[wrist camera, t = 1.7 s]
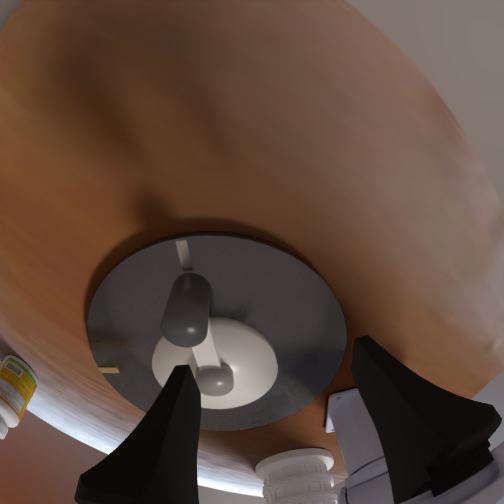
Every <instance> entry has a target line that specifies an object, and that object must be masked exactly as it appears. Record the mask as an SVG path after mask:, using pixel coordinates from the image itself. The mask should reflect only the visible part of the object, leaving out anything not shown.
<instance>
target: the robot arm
mask: <svg viewBox="0 0 504 504" xmlns="http://www.w3.org/2000/svg"><path fill="white" fill-rule="evenodd" d="M351 371H352V374H353V377H354V380H355V383H356V386H357V388H355V389H351V390H348V391H344V392H340V393H335V394H332V395H330V396H329V399H328V409H327V418H326V427H325V431H326V432H327V433H329V432H334V431H335V434H336V437H337V440H338V443H339V447H340V450H341V453H342V457H343V460H344V463H345V467H346V470H347V473H348V478H345V479H344V481H345V484H346V486H345V487H343V488H342V489H341V490H340V493H339V495H338V497H337V504H496V503H497V502H498V501H500V500H501V499H502V498H503V497H504V442H503V443H501V444H500V445H499V446H497V447H496V448H495V449H494V450H492V451H491V452H490V451H489V449H488V448H489V447H490V443H489V441H488V439H489V438H490V437H491V435H492V434H493V433H494V432H495V431H496V429H497V428H498V427H499V425H500V424H501V421H502V418H501V417H500V415H499V414H498V412H497V411H496V409H495V408H494V407H493V405H490V404H486V403H481V402H477V401H473V400H470V399H467V398H464V397H461V396H458V395H456V394H453V393H451V392H449V391H446V390H444V389H442V388H440V387H438V386H436V385H434V384H432V383H431V382H429V381H427V380H425V379H424V378H422V377H420V376H419V375H417V374H416V373H414V372H413V371H412V370H410V369H409V368H407V367H406V366H405V365H403V364H402V363H401V362H399V361H398V360H397V359H396V358H394V357H393V356H392V355H391V354H389V353H388V352H387V351H386V350H385V349H383V348H382V347H381V346H380V345H379V344H378V343H376V342H375V341H374V340H373V339H372V338H371V337H369V336H368V335H366V336H362V337H358V338H355V342H354V351H353V359H352V366H351ZM200 421H201V392H200V390H199V388H198V385H197V383H196V380H195V378H194V375H193V373H192V370H191V368H190V365H189V364H187V365H176V366H175V367H174V368H173V370H172V372H171V374H170V376H169V378H168V379H167V381H166V383H165V385H164V387H163V388H162V390H161V392H160V393H159V395H158V397H157V398H156V400H155V401H154V403H153V405H152V406H151V407H150V409H149V410H148V412H147V413H146V415H145V416H144V418H143V419H142V420H141V421H140V423H139V424H138V425H137V427H136V428H135V429H134V430H133V431H132V433H131V434H130V435H129V436H128V437H127V438H126V439H125V440H124V441H123V442H122V443H121V444H120V445H119V446H118V447H117V448H116V449H115V450H114V451H113V452H111V453H110V454H109V455H108V456H107V457H106V458H105V459H103V460H102V461H101V462H99V463H98V464H97V465H95V466H94V467H92V468H91V469H89V470H88V471H86V472H84V473H83V474H81V475H80V478H79V481H78V485H77V489H76V494H75V498H74V499H75V501H76V502H77V503H78V504H199V498H198V484H197V450H198V440H199V431H200Z"/></svg>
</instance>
